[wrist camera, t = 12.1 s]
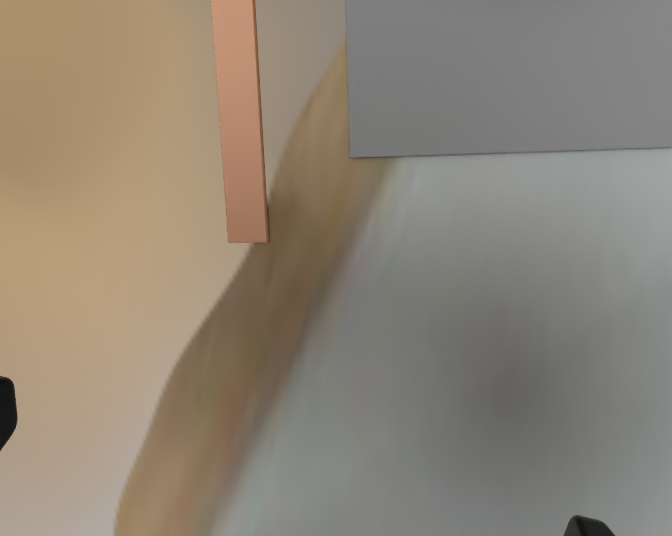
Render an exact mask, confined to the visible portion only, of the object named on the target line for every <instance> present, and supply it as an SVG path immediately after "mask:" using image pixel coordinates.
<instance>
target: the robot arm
mask: <svg viewBox="0 0 672 536" xmlns="http://www.w3.org/2000/svg"><path fill="white" fill-rule="evenodd" d="M16 425H17V408H16V398H15V389H14V384H13V382H12V381H11V380H10V379H9V378H6V377H3V376H0V451H1V449H2V448H3V446H4V445H5V444H6V442H7V441H8V440H9V438H10V437H11V435H12V434H13V432H14V430H15V428H16ZM564 536H615V535H614V533H613V532H612V531H611V530H610V529H609V528H608V526H607V525H606V524H605V523H603V522H602V521H599V520H596V519H592V518H588V517H584V516H579V515H576V516H573V517H572V518H571V519H570V521H569V523H568V526H567V528H566V531H565V533H564Z"/></svg>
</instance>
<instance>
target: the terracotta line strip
mask: <svg viewBox="0 0 672 536" xmlns="http://www.w3.org/2000/svg"><path fill="white" fill-rule="evenodd" d="M211 8H212V20H213V21H212V22H213V36H214V50H215V64H216V77H217V91H218V105H219V119H220V133H221V146H222V161H223V173H224V188H225V201H226V215H227V230H228V242H229V243H232V242H233V243H237V242H238V243H243V242H244V243H245V242H246V243H258V242H268V241H269V233H268V215H267V198H266V181H265V165H264V147H263V131H262V113H261V96H260V79H259V61H258V45H257V27H256V10H255V0H211Z"/></svg>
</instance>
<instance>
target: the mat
mask: <svg viewBox="0 0 672 536" xmlns="http://www.w3.org/2000/svg"><path fill="white" fill-rule="evenodd" d="M345 6H346V7H345V10H346V44H347V78H348V111H349V145H350V158H354V157H384V156H415V155H446V154H476V153H507V152H537V151H568V150H598V149H629V148H660V147H672V0H345Z"/></svg>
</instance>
